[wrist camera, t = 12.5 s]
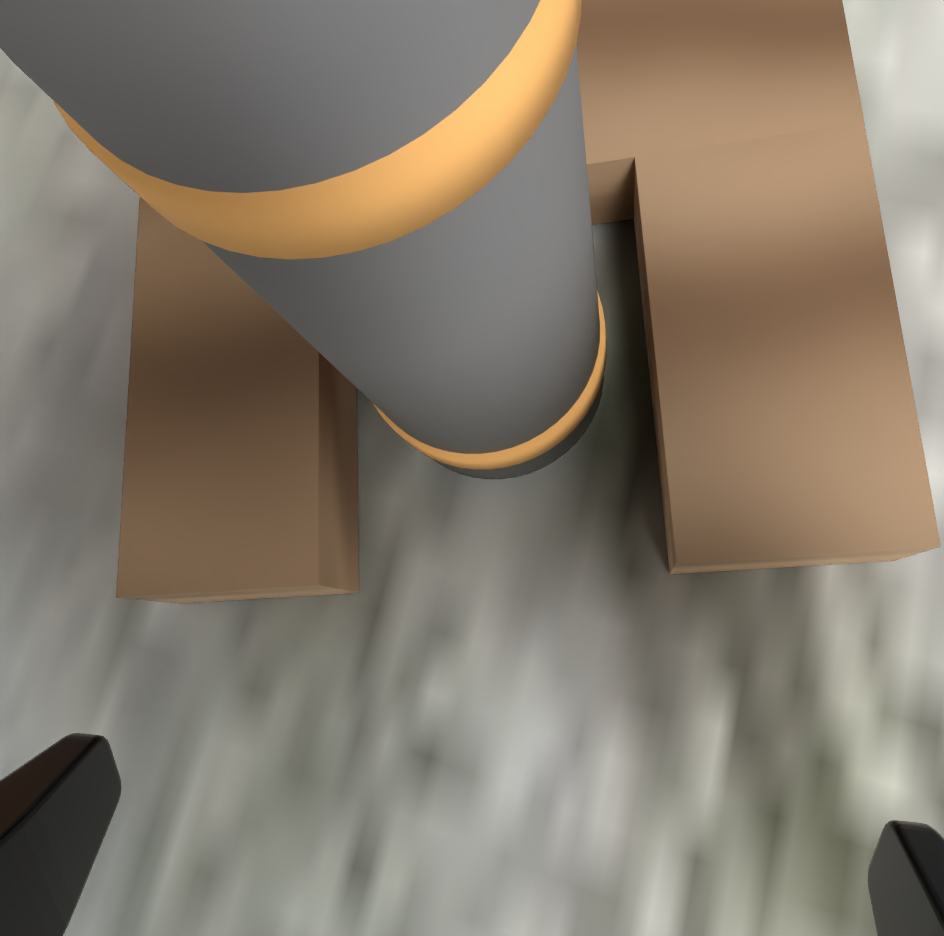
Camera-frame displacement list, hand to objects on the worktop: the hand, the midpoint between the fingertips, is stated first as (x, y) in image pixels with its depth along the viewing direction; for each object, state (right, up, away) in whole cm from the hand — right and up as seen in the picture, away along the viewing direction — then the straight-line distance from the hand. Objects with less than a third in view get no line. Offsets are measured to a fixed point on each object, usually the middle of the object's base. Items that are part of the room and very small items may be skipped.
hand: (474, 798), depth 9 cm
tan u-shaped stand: (0, +8, +10) cm, 13 cm away
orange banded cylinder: (+1, +6, +10) cm, 11 cm away
